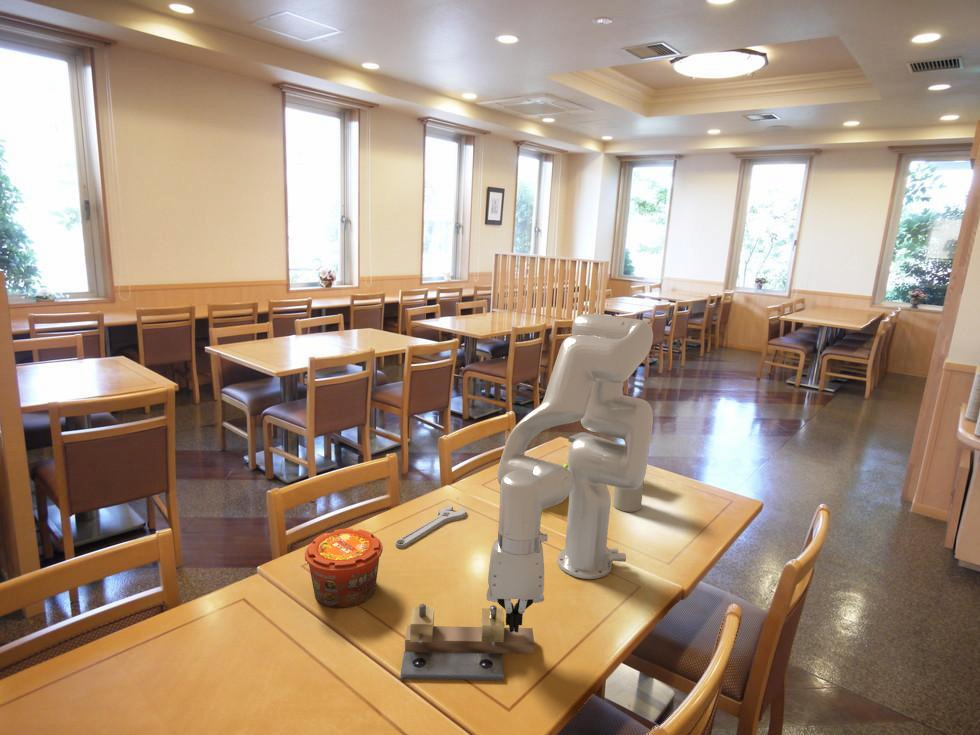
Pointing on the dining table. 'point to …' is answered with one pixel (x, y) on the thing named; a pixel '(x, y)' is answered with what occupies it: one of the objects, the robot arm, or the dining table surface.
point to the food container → (344, 567)
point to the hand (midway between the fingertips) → (513, 627)
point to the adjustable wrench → (431, 525)
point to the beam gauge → (460, 637)
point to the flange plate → (452, 666)
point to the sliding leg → (492, 625)
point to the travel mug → (628, 498)
